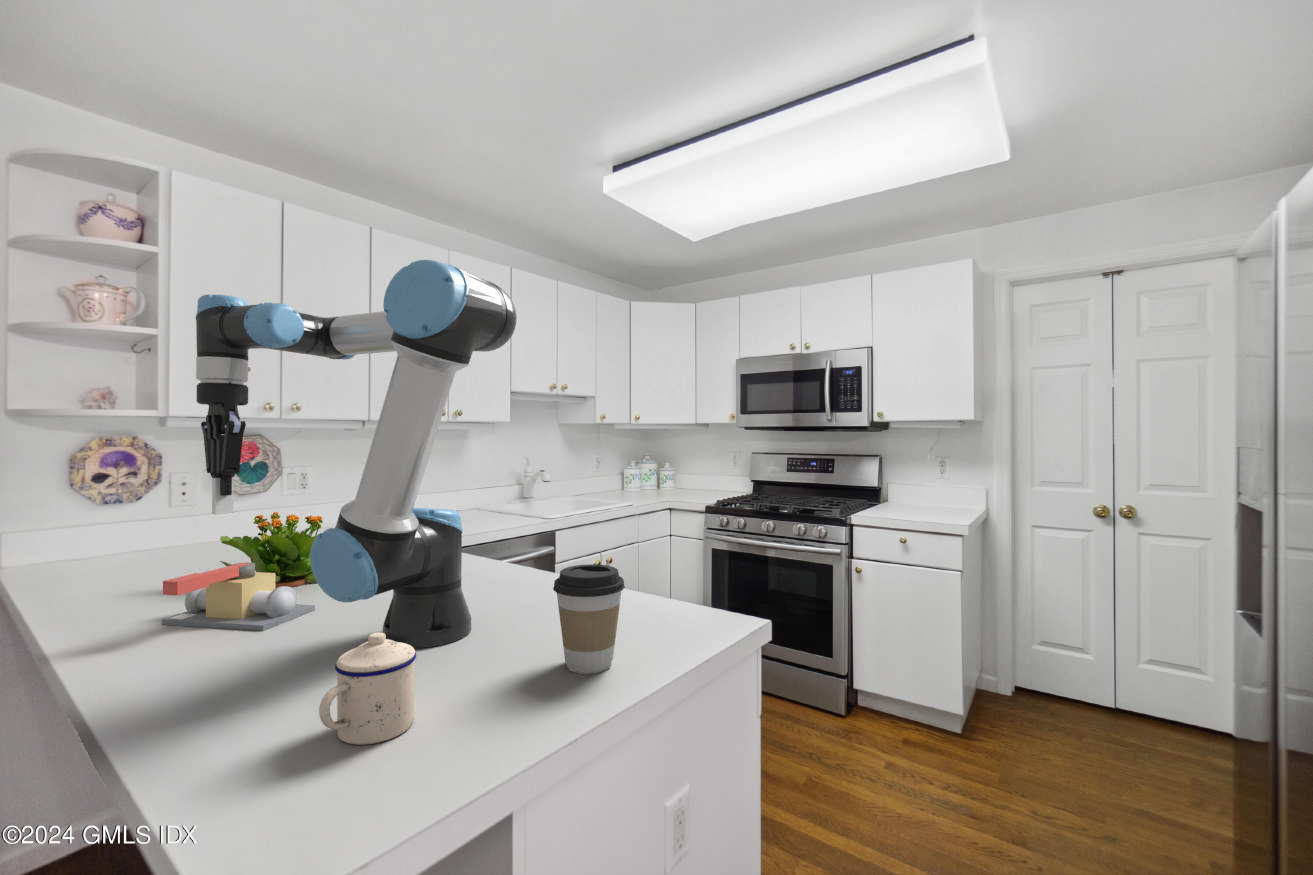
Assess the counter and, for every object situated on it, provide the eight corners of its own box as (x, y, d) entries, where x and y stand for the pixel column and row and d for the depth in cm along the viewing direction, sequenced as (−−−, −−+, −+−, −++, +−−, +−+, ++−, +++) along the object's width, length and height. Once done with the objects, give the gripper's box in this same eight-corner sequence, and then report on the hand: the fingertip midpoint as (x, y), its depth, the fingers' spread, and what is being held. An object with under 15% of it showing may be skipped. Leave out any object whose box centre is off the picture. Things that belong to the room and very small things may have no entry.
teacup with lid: (380, 705, 78) (380, 619, 78) (432, 718, 75) (432, 628, 75) (294, 749, 67) (294, 649, 67) (349, 767, 64) (349, 661, 64)
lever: (241, 573, 119) (241, 560, 119) (260, 574, 118) (260, 561, 118) (159, 596, 102) (159, 580, 102) (180, 597, 101) (181, 581, 101)
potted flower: (296, 600, 128) (296, 520, 128) (189, 599, 128) (189, 520, 128) (356, 573, 153) (356, 506, 153) (267, 572, 153) (267, 506, 153)
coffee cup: (635, 656, 96) (635, 565, 96) (607, 684, 85) (607, 582, 85) (573, 648, 100) (573, 560, 100) (539, 673, 89) (539, 575, 89)
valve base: (314, 610, 121) (314, 571, 121) (263, 630, 108) (263, 587, 108) (222, 604, 124) (222, 567, 124) (162, 624, 111) (162, 582, 111)
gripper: (262, 383, 105) (262, 514, 105) (232, 386, 112) (231, 508, 112) (212, 379, 98) (212, 518, 98) (183, 383, 106) (183, 512, 106)
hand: (222, 513), depth 105 cm, fingers closed
